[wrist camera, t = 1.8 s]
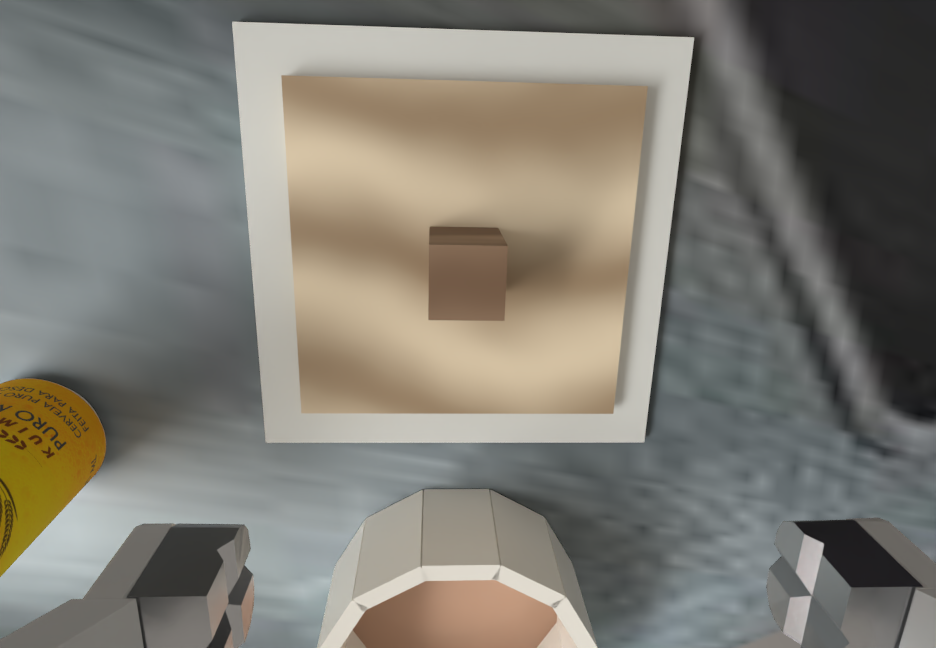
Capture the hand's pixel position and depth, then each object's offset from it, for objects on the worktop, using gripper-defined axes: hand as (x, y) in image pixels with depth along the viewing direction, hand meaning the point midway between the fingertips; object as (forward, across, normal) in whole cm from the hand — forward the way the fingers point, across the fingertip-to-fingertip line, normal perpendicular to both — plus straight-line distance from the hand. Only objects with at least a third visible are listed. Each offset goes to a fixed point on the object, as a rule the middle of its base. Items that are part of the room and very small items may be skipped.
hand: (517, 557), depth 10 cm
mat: (+21, 0, 0) cm, 21 cm away
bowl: (+21, 0, +19) cm, 28 cm away
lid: (+21, 0, 0) cm, 21 cm away
